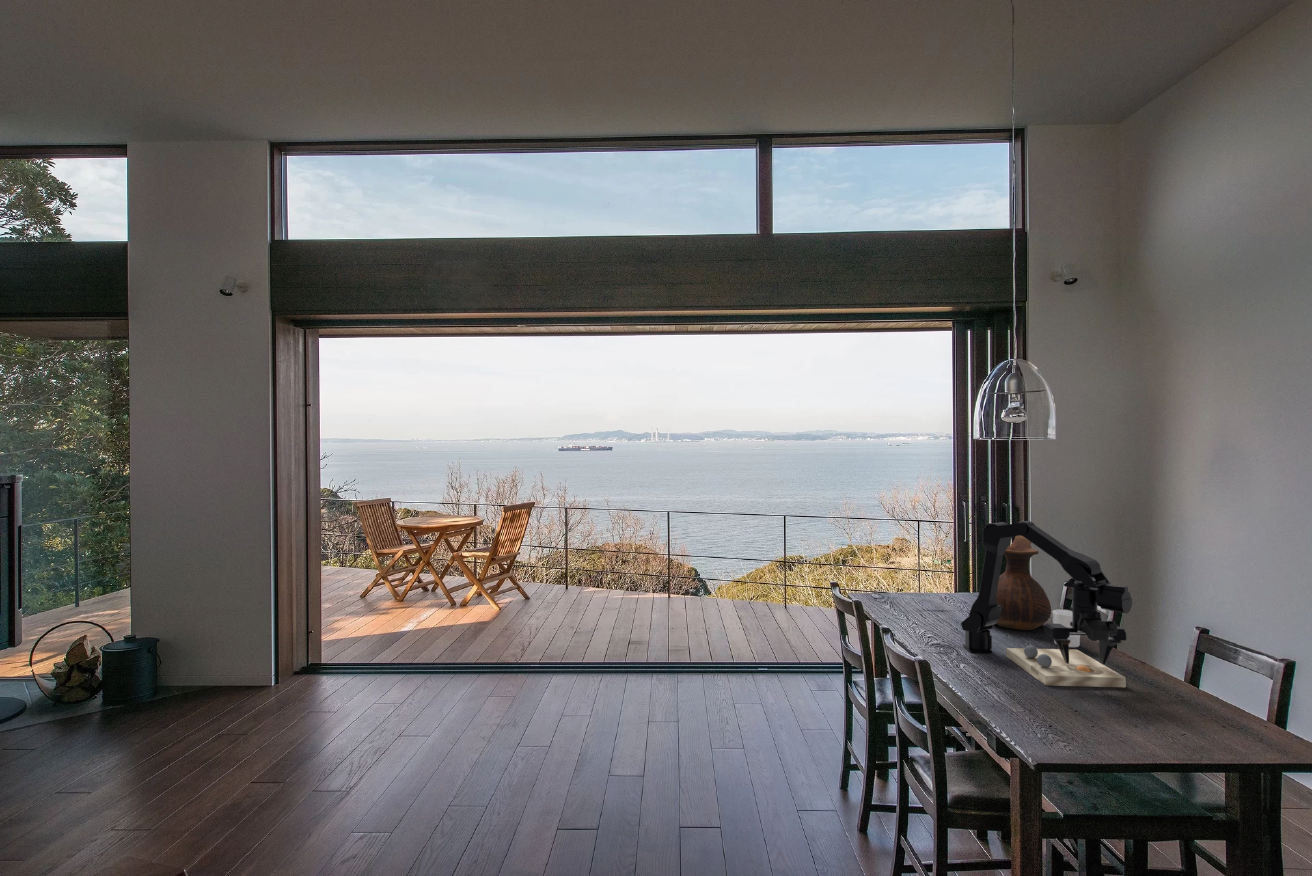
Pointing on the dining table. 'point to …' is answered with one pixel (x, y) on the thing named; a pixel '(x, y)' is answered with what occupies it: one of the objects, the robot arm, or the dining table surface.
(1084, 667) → the ball
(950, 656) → the dining table surface
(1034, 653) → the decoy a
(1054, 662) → the board
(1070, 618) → the white cup
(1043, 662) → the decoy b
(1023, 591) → the jug
